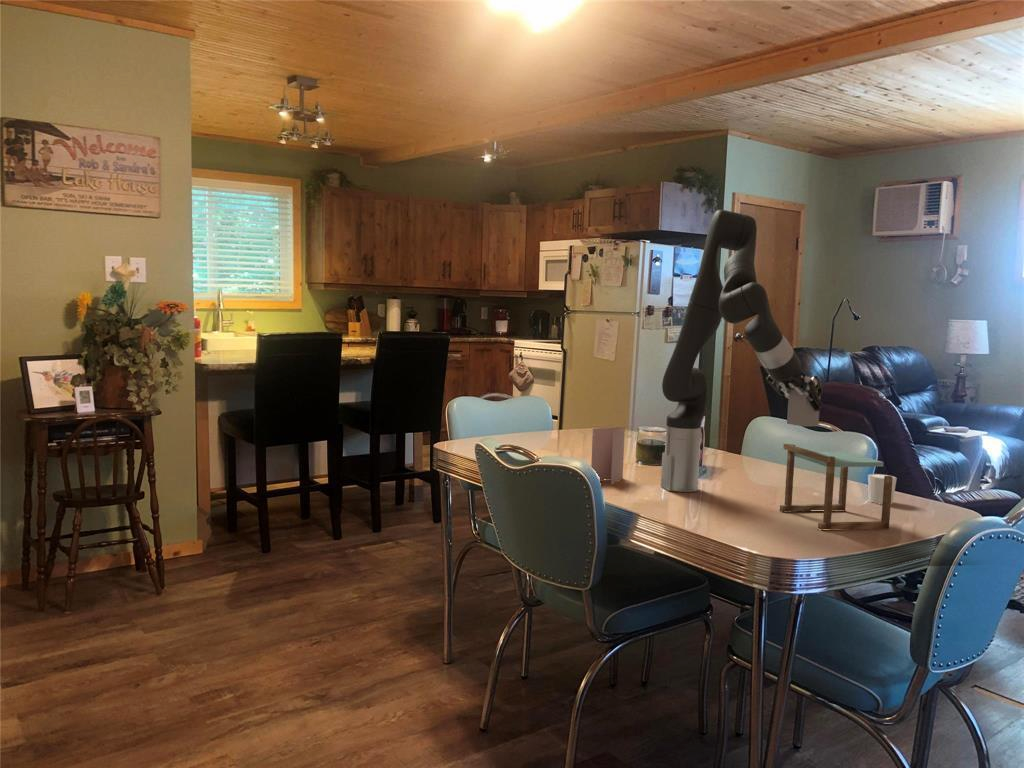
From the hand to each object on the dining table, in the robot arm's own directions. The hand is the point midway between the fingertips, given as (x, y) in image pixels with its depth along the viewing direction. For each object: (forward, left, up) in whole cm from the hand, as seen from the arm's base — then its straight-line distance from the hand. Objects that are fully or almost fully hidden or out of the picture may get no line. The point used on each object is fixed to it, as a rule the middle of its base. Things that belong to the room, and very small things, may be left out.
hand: (809, 407), depth 185 cm
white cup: (+29, +11, -26) cm, 40 cm away
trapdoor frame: (+5, -5, -26) cm, 27 cm away
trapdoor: (+5, -5, -12) cm, 14 cm away
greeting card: (-35, +39, -26) cm, 59 cm away
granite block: (-2, -1, -4) cm, 5 cm away
